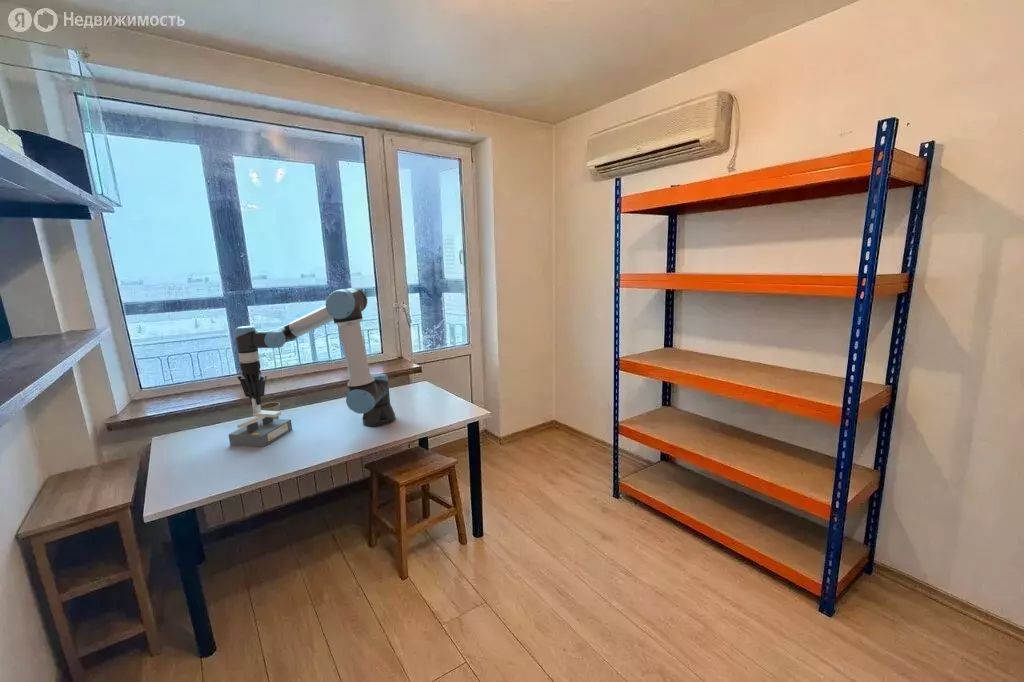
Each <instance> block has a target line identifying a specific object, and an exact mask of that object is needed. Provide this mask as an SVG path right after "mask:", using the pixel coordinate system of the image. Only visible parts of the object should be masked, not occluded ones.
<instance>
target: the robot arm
mask: <svg viewBox="0 0 1024 682" xmlns="http://www.w3.org/2000/svg"><path fill="white" fill-rule="evenodd" d="M367 306H368V297H367V295H366V293H365V292H364V291H363V290H362V289H360V288H358V287H357V288H356V287H348V288H340V289H337V290H335V291H332V292H331V293H329V294H328V296H327V298H326V300H325V305H324V306H321V307H320V308H317V309H315V310H314V311H312V312H309V313H308V314H306V315H303V316H302V317H298V318H297V319H295V320H293V321H292V322H289V323H286V324H285V325H282V326H280V327H275V328H273V329H269V330H256V328H255V326H254V325H245V326H244V325H243V326H238V327H236V328H235V330H234V334H235V337H234V338H235V342H236V346H237V347H236V348H237V353H238V361H239V369H240V371H241V374H240V375H239V376H237V379H238V381H239V383H240V385H241V388H242V390H243V393H244V396H245V397H246V398H247V397H248V398H249V400H250V405H252V412H253V413H255V412H259V411H261V406H260V405H262V401H261V399H262V398H261V397H263V396H264V395H265V391H266V390H265V387H266V380H267V377H268V376H267V375H263V374H262V372H261V368H262V367H261V361H260V360H259V359H260V354H259V349H278V348H280V349H281V348H282V347H283V346H284V345H285V344H286V343H289V342H292V341H295V340H296V339H297V338H299V337H302V336H303V335H306V334H308V333H310V332H312V331H314V330H316V329H318V328H320V327H322V326H325V325H327V324H329V323H331V322H333V323H334V324H335V325H336V326H338V328H339V334H340V339H341V343H342V348H343V352H344V353H343V354H344V357H345V361H346V367H347V370H348V371H347V372H348V376H349V380H348V382H347V384H346V385H347V389H348V392H347V395H346V399H345V404H346V405H347V407H348V408H349V410H350V411H352V412H353V413H356V414H360V415H362V424H363V425H364V426H365V427H382V426H385V425H386V426H387V425H388V424H391V423H394V421H395V420H396V413H395V411H394V408H393V407H392V404H391V398H390V396H391V395H390V394H391V393H390V385H389V378H388V374H385V373H371V372H370V366H369V362H368V361H369V360H368V357H367V351H366V345H365V341H364V336H363V332H362V327H361V326H362V325H361V322H362V320H363V313H362V312H364V310H365V309H366V308H367Z"/></svg>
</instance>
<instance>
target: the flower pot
mask: <svg viewBox="0 0 1024 682" xmlns="http://www.w3.org/2000/svg"><path fill="white" fill-rule="evenodd" d="M280 405H281V403H280V402H278V401H272V402H271V401H270V402H266V403H263V404H262V403H261V404H260V406H261V410H265V411H280ZM273 419H280V415H279V416H277V417H275V418H273Z"/></svg>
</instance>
